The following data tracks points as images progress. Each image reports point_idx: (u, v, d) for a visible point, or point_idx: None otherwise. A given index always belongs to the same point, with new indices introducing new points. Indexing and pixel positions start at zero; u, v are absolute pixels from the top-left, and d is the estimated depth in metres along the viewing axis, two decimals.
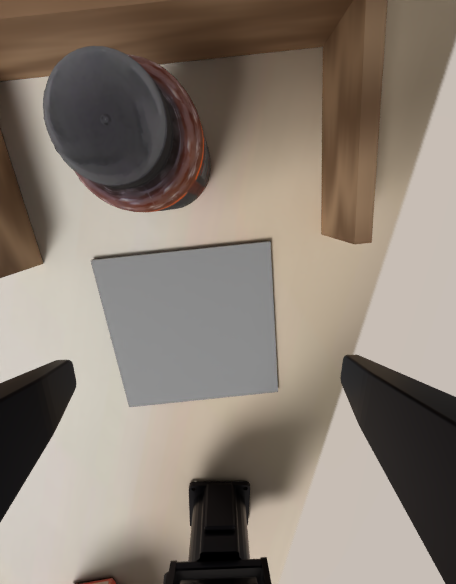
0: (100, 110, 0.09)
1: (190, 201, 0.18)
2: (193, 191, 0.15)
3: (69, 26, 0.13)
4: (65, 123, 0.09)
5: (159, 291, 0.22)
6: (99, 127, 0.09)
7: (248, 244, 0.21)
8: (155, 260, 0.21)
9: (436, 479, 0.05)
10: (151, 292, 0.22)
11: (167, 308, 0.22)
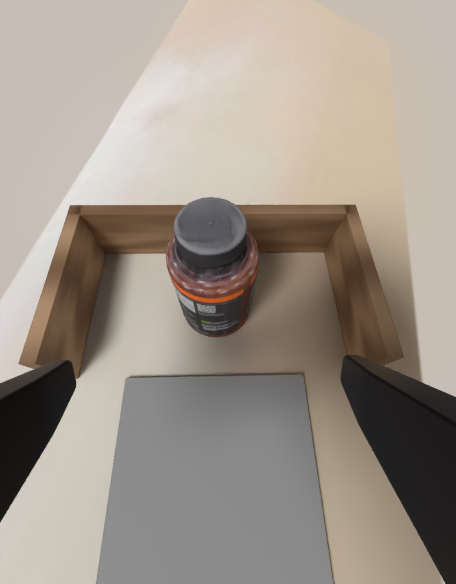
0: (209, 219, 0.15)
1: (233, 324, 0.21)
2: (243, 303, 0.19)
3: None
4: (186, 223, 0.14)
5: (185, 419, 0.20)
6: (206, 226, 0.14)
7: (281, 375, 0.21)
8: (189, 383, 0.21)
9: (436, 479, 0.05)
10: (176, 420, 0.20)
11: (189, 443, 0.19)
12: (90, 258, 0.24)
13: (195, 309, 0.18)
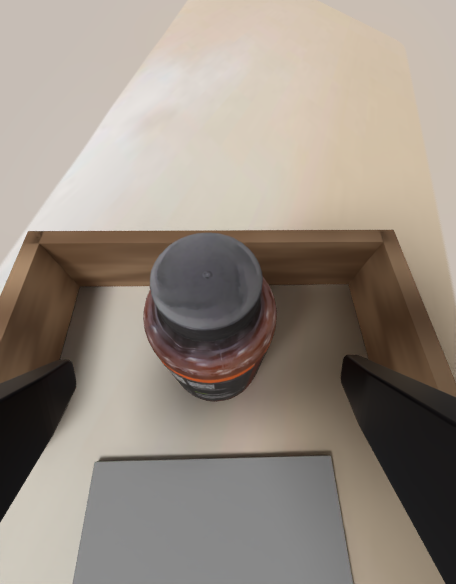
0: (205, 268, 0.09)
1: (239, 390, 0.16)
2: (252, 372, 0.13)
3: None
4: (169, 275, 0.09)
5: (173, 527, 0.14)
6: (199, 280, 0.09)
7: (302, 457, 0.16)
8: (179, 470, 0.16)
9: (436, 479, 0.05)
10: (160, 527, 0.14)
11: (178, 565, 0.14)
12: (55, 297, 0.19)
13: (186, 383, 0.13)
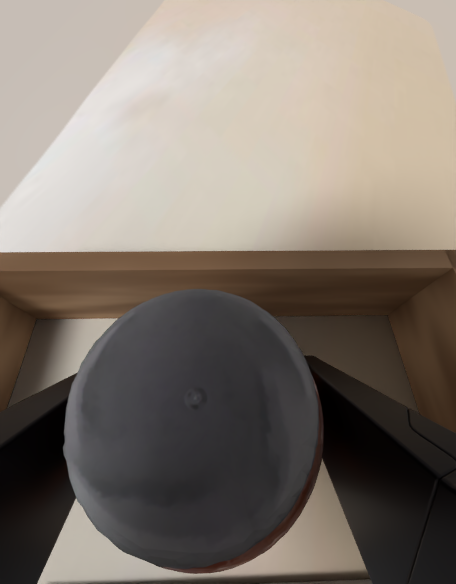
0: (190, 380, 0.04)
1: None
2: None
3: (147, 281, 0.13)
4: (110, 398, 0.04)
5: None
6: (178, 413, 0.04)
7: None
8: None
9: (365, 481, 0.05)
10: None
11: None
12: None
13: None
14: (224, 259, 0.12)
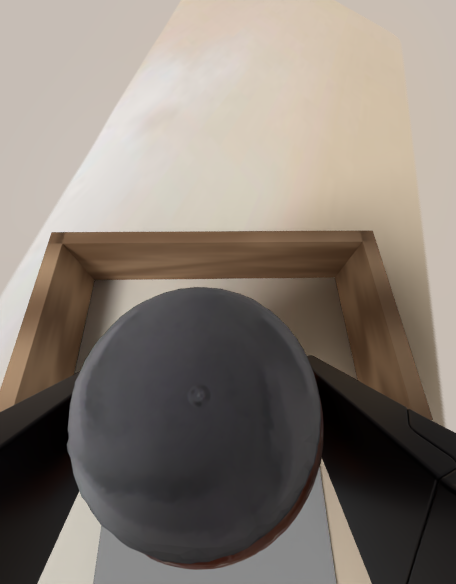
0: (194, 377, 0.04)
1: None
2: None
3: (174, 250, 0.21)
4: (113, 395, 0.04)
5: None
6: (181, 410, 0.04)
7: None
8: None
9: (365, 481, 0.05)
10: None
11: None
12: (76, 289, 0.21)
13: None
14: (222, 236, 0.20)
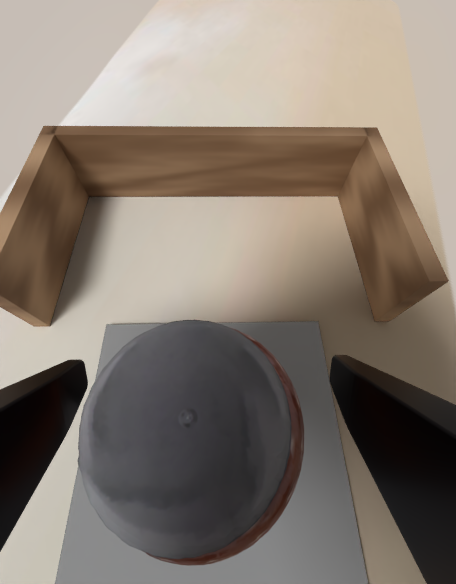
0: (183, 402, 0.05)
1: None
2: None
3: (171, 148, 0.20)
4: (116, 418, 0.05)
5: None
6: (173, 431, 0.05)
7: (292, 323, 0.18)
8: None
9: (418, 479, 0.05)
10: None
11: None
12: (68, 192, 0.20)
13: None
14: (220, 130, 0.19)
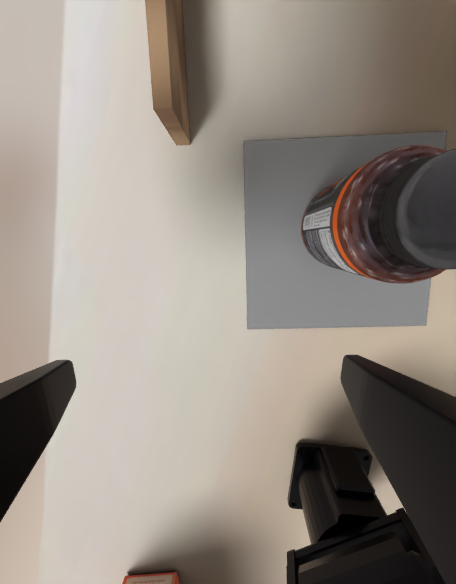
0: None
1: None
2: None
3: None
4: (420, 211, 0.09)
5: (311, 183, 0.20)
6: (453, 217, 0.09)
7: (420, 133, 0.19)
8: (314, 145, 0.19)
9: (436, 479, 0.05)
10: (302, 184, 0.20)
11: None
12: None
13: (351, 272, 0.15)
14: None
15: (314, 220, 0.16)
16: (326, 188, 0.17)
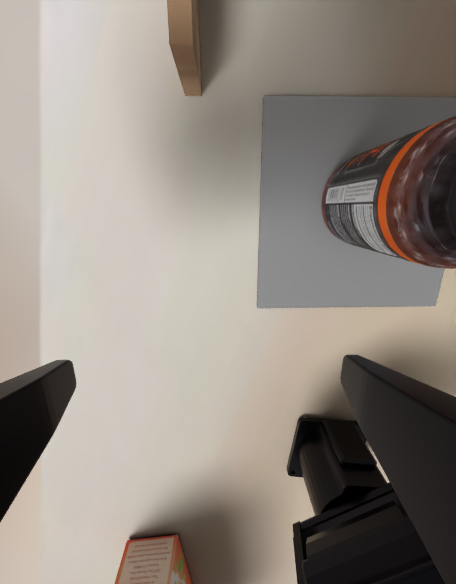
0: None
1: None
2: None
3: None
4: None
5: (335, 150, 0.18)
6: None
7: None
8: (342, 105, 0.17)
9: (436, 479, 0.05)
10: (325, 151, 0.18)
11: None
12: None
13: (384, 253, 0.14)
14: None
15: (345, 193, 0.15)
16: (357, 157, 0.16)
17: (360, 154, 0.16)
